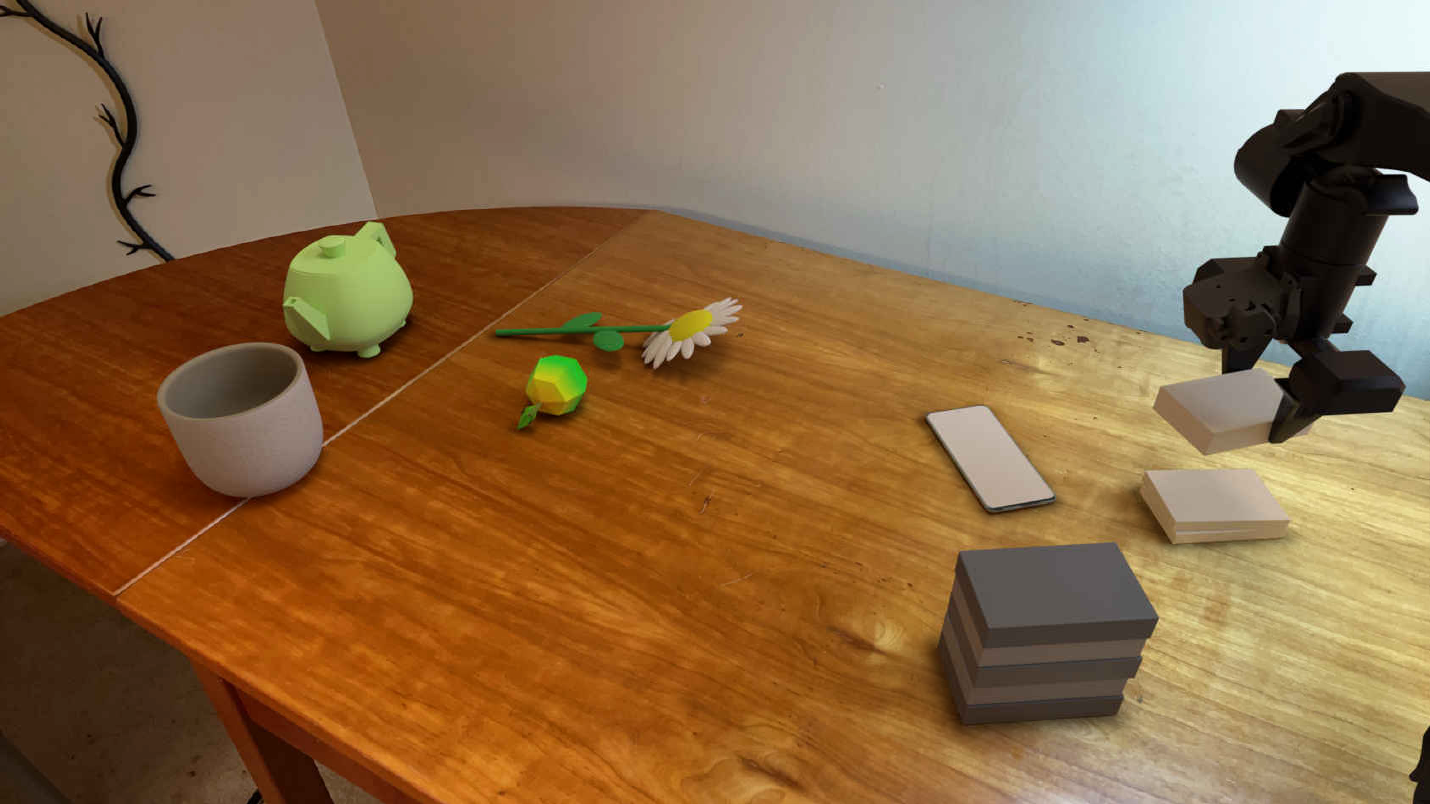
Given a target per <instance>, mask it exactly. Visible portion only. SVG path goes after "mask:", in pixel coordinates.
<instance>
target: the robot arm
mask: <svg viewBox="0 0 1430 804" xmlns="http://www.w3.org/2000/svg"><path fill="white" fill-rule="evenodd" d="M1380 170H1390V171H1398V172H1403V173H1383V172H1382V171H1380ZM1233 173H1234V175H1235V177H1236V179H1237V181H1239V183H1240V184H1241V185H1242V186H1243V187H1245V188H1246V189H1247V190H1248V191H1249V192H1250V193H1251V194H1252V195H1254V197H1256V198H1257V199H1258V200H1259V201H1260V202H1262V203H1263V205H1265V206H1266V207H1267V208H1268V209H1269V210H1270V211H1272V212H1273V213H1274V215H1277V216H1279V217H1281V218H1285V219H1288V220H1287V223H1286V225H1285V227H1284V230H1283V232H1282V235H1281V238H1280V239H1279V242H1278V244H1274V245H1273V244H1271V245H1263V247H1262V250H1261V251H1260V250H1259V251H1258V252H1256V253H1257V254H1256V256H1238V257H1215V258H1214V257H1213V258H1212V257H1211V258H1209V260H1207V261H1205V262H1204V263H1202V264H1201V265H1200V266H1199V267H1197V269H1196V270H1195V274H1194V276H1193V279H1192V282H1191V283H1190V284H1188V285H1186V286H1185V287H1184V288H1183V289H1182V307H1183V308H1182V309H1183V323H1184V326H1185V327H1186V328H1187V329H1189V330H1190V331H1191V332H1192V333H1193V334H1194V335H1195V336H1196V337H1197V339H1198V340H1199V342H1200V343H1201V345H1203V347H1204V348H1206V349H1209V350H1213V351H1214V350H1216V351H1217V350H1221V375H1223V374H1228V373H1234V372H1239V371H1244V370H1250V369H1254V367H1255V365H1256V364H1257V362H1258V361H1259V360H1260V358H1261V356H1262V355H1263V353H1264V352H1265V351H1266V349H1267V348H1268V346H1269V345H1270V344H1271V342H1272V340H1274V341H1277V342H1278V343H1279V344H1281V345H1287V346H1288V347H1289V348H1290V349H1291V350H1293V352H1294V353H1295V354H1297V355H1298V356H1299V357H1300V359H1299V360H1297V361H1296V362H1294V363H1293V364H1292V366H1291V369H1290V371H1289V373H1288V375H1287V376H1288V377H1274V381H1275V383H1276V384H1277V385H1278V387H1279V388H1280V389H1281V390H1282V392H1283V396H1282V399H1281V401H1280V404H1279V407H1278V409H1277V412H1276V415H1275V417H1274V420H1273V423H1272V426H1271V430H1270V434H1269V437H1268V441H1269V444H1271V445H1279V444H1283V443H1285V442H1287V441H1288V440H1289V439H1292V438H1291V437H1292V436H1294V435H1295V434H1297V433H1298V432H1300V431H1301V430H1303V429H1304V428H1306V427H1307V426H1309V425H1310V424H1312V423H1313V422H1314V423H1315V422H1316V421H1317V420H1319V419H1320V418H1322V417H1326V416H1327V417H1328V416H1345V415H1364V414H1365V415H1366V414H1369V415H1370V414H1384V413H1393V412H1394V410H1395V409H1396V406H1397V405H1398V403H1399V401H1400V400H1401V398H1402V396H1403V394H1404V392H1405V390H1406V389H1407V385H1406V384H1405V382H1404V380H1403V379H1402V378H1401V376H1400V375H1399V374H1398V373H1396V371H1394V370H1393V369H1392V368H1390V367H1389V366H1388V365H1387V364H1386V363H1385V362H1383V360H1381V359H1380V358H1379V357H1377V356H1376V355H1375V354H1374V353H1373V351H1371V350H1369V349H1359V350H1358V349H1357V350H1355V349H1354V350H1340V349H1339V348H1338V347H1337V346H1336V345H1335V344H1333V343H1332V342H1331V341H1330V340H1329V338H1330V337H1331V336H1332V335H1342V334H1349V332H1350V330H1351V328H1352V326H1353V325H1354V321H1353V320H1352V319H1350V317H1348V316H1347V315H1346V314H1345V313H1344V312H1345V310H1346V308H1347V306H1348V304H1349V301H1350V299H1351V297H1352V295H1353V293H1354V291H1355V289H1356V287H1372V285H1373V283H1374V282H1375V279H1376V277H1377V275H1378V273H1377V272H1376V271H1375V270H1374V269H1372V268H1371V267H1369V266H1368V265H1367V264H1368V262H1369V260H1370V258H1371V255H1372V253H1373V251H1374V249H1375V247H1376V245H1377V242H1378V241H1379V239H1380V237H1381V234H1382V233H1383V230H1384V228H1385V226H1386V224H1387V222H1388V220H1389V217H1390V216H1415V215H1416V214H1418V213H1419V210H1420V207H1419V202H1418V198H1417V196H1416V195H1415V194H1414V192H1413V191H1412V189H1411V188H1410V184H1409V179H1408V178H1409V177H1408V175H1407V174H1406V173H1408V174H1410V175H1413V176H1415V177H1417V178H1420V179H1422V180H1424V181H1426V182H1428V183H1430V71H1427V70H1426V71H1422V70H1421V71H1419V70H1418V71H1345V72H1342V73H1339V74H1338V75H1337V76H1336V77H1335V78H1334V81H1333V82H1332V83H1331V85H1330V86H1329V87H1328V88H1327V90H1324V92H1322V93H1321V94H1320V95H1319V96H1317V98H1315V99H1314V100H1313V101H1312V102H1311V103H1310V104H1308V106H1307V107H1306V108H1280V109H1278V110H1277V112H1276V115H1275V117H1274V119H1273V122H1272V123H1270V124H1268V125H1266V126H1263V127H1261V128H1260V129H1259V130H1257V131H1255V132H1254V133H1253V134H1252V135H1251V136H1249V138H1247V140H1245V142H1244V143H1243V144H1242V146H1241V147H1239V148H1238V149H1237V151H1236V154H1235V156H1234V161H1233ZM1314 423H1313V424H1314ZM1420 749H1421V750H1420V751H1421V752H1420V756H1419V760H1418V762H1417V764H1416V766H1415V768H1414V769H1413V770H1412V771H1411V772H1410V773H1409V775H1408V779H1409V781H1410V782H1413V783H1417V784H1416V785H1415V789H1414V792H1413V795H1412V804H1430V725H1428V727H1427V728H1426V730H1425V732H1424V733H1423V735H1422V741H1421V748H1420Z"/></svg>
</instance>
